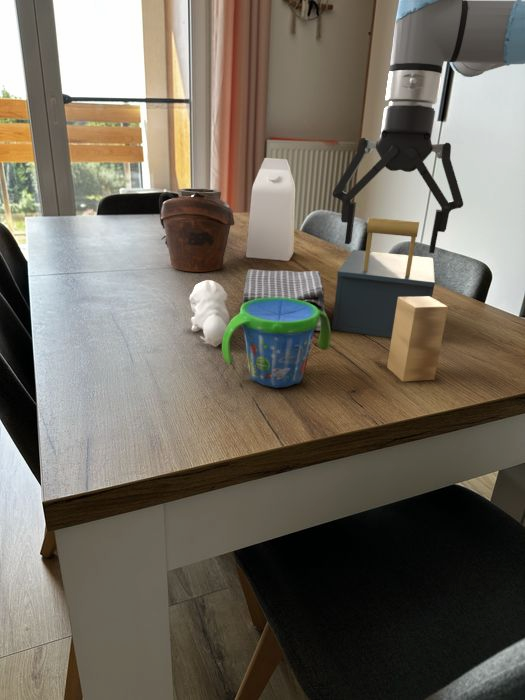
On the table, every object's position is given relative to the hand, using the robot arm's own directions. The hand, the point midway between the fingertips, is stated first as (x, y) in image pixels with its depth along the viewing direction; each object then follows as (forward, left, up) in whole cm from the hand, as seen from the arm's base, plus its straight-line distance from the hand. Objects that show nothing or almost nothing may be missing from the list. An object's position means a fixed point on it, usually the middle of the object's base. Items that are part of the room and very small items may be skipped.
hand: (388, 247), depth 85 cm
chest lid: (0, -8, -5) cm, 9 cm away
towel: (+18, -2, -15) cm, 24 cm away
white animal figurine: (+26, +14, -15) cm, 33 cm away
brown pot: (+48, -31, -15) cm, 59 cm away
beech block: (-6, +16, -15) cm, 23 cm away
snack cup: (+12, +25, -15) cm, 31 cm away
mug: (+65, -65, -15) cm, 93 cm away
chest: (0, -8, -15) cm, 17 cm away
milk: (+35, -54, -15) cm, 66 cm away
